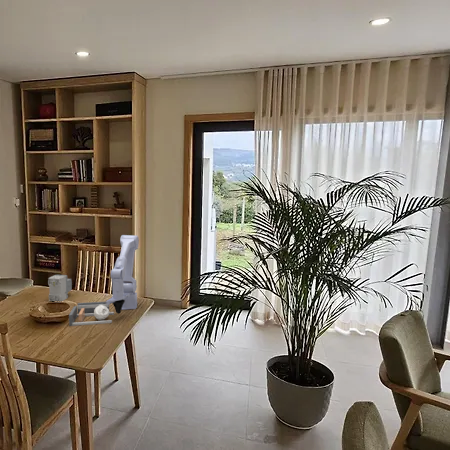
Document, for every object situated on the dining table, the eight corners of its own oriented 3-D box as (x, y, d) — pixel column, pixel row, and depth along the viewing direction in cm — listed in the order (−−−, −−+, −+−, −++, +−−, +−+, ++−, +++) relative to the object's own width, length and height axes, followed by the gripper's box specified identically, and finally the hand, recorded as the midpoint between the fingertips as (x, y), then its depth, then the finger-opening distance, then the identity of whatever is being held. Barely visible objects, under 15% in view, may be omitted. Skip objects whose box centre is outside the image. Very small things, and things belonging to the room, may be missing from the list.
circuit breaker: (73, 294, 211) (72, 272, 209) (60, 302, 197) (59, 279, 195) (62, 293, 212) (61, 271, 210) (48, 301, 198) (47, 278, 196)
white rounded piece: (99, 323, 170) (99, 309, 169) (90, 319, 174) (90, 306, 173) (111, 318, 177) (111, 305, 176) (103, 314, 181) (102, 302, 180)
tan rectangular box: (84, 316, 177) (84, 308, 177) (81, 323, 169) (81, 314, 169) (81, 316, 177) (81, 308, 176) (78, 323, 169) (78, 314, 168)
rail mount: (114, 310, 187) (114, 301, 186) (111, 322, 171) (111, 312, 170) (76, 313, 182) (75, 303, 181) (69, 325, 166) (68, 315, 165)
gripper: (123, 284, 184) (123, 307, 186) (102, 291, 171) (102, 315, 173) (132, 287, 180) (132, 309, 182) (111, 294, 168) (111, 318, 170)
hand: (118, 312), depth 177 cm, fingers closed
